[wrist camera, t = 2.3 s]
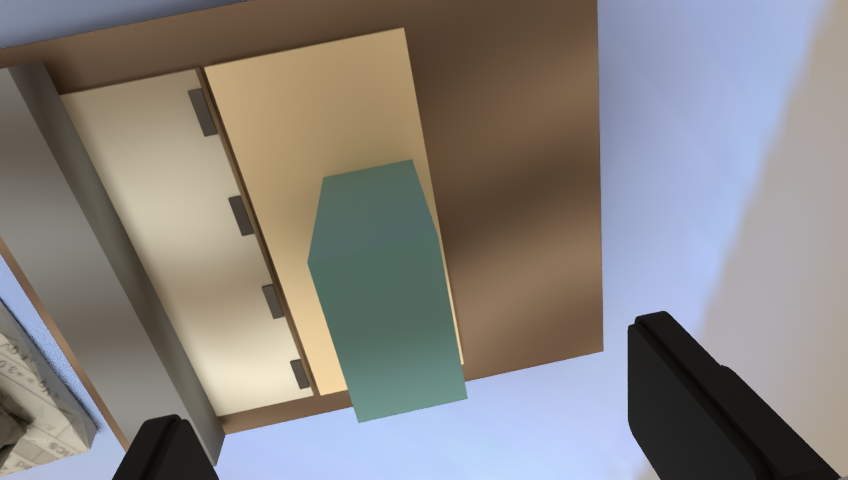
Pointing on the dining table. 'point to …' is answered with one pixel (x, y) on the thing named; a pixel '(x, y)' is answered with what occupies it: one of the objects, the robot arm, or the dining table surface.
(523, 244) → the ticket board
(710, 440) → the robot arm
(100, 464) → the dining table surface
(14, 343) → the packaged product
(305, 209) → the teal block on plate
